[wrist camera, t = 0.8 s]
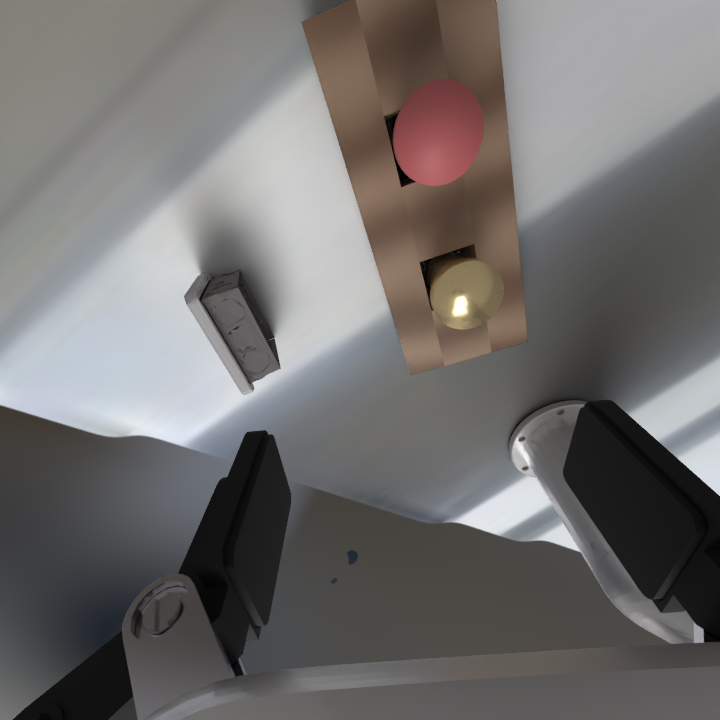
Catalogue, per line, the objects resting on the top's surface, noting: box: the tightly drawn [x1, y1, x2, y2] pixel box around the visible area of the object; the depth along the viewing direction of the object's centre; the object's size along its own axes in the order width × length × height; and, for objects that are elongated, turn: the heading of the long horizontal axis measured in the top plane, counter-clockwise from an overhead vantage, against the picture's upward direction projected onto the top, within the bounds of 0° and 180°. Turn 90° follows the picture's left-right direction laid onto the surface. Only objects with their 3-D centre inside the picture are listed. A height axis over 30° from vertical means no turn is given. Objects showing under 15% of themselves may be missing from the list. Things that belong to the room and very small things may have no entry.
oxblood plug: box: [393, 79, 484, 186], centre depth 22 cm, size 5×5×6 cm
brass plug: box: [426, 252, 504, 330], centre depth 26 cm, size 5×5×6 cm
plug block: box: [302, 0, 528, 376], centre depth 27 cm, size 26×11×5 cm, turn 19°
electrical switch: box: [184, 270, 280, 395], centre depth 30 cm, size 9×5×9 cm, turn 18°
